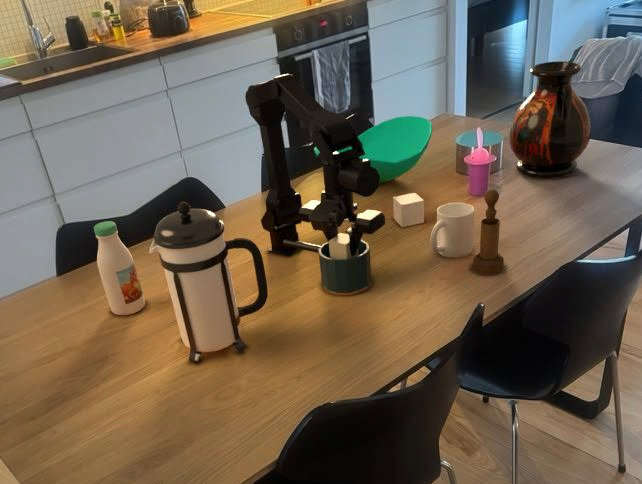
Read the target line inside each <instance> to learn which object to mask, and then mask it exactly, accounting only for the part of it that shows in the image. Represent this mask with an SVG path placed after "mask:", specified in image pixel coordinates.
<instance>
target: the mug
mask: <svg viewBox="0 0 642 484" xmlns="http://www.w3.org/2000/svg"><path fill="white" fill-rule="evenodd" d="M474 223H475V207H474V206H473V205H472V204H469V203H466V202H449V203H445V204H442V205H440V206H439V207H437V209H436V223H435V225H434V226H433V228H432V230H431V232H430V237H429V244H430V248H431V249H432V250H433V252H436V253H438V254H439V255H440V256H442V257H444V258H450V259H457V258H458V259H460V258H464V257H466V256H469V255H470V254H471V253H472V252H473V248H474V228H475V226H474V225H475V224H474Z"/></svg>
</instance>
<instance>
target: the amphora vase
mask: <svg viewBox="0 0 642 484" xmlns="http://www.w3.org/2000/svg"><path fill="white" fill-rule="evenodd" d="M581 71H582V66H581V65H580V64H579V63H577V62H572V61H547V62H541V63H538V64H535V65H533V66H532V67H531V68H530V70H529V73H530V74H531V76H534V77H536V86H535V88H534V90H533V91H532V93H531V94H530V95H529V96H528V97H527V98H526V99H525V100H524V101H523V102H522V103H521V104H520V106H519V107H518V108H517V110H516V112H515V113H514V115H513V118H512V120H511V126H510V129H509V137H508V138H509V146H510V149H511V151H512V153H513V154H514V156H515V157H516V158H517V159H518V161H517V163H516V170H517V171H518V172H519V174H522V175H523V176H525V177H529V178H534V179H541V180H547V179H550V180H551V179H558V178H563V177H566V176H568V175H570V174H572V173H574V172H575V171H576V169H577V167H578V163H577V161H576V160H577V159H578V158H579V157H580V156H581V155H582V154H583V153H584V151H585V150H586V149H587V148H588V145H589V143H590V139H591V134H592V130H591V129H592V126H591V117H590V113H589V111H588V110H589V109H588V108H587V105H586V104H585V102H584V101H583V100H582V98H581V97H580V96H579V95H578V94H577V92H576V91H575V89H574V88H573V86H572V81H573V77H574V76H575V75H577V74H579V73H580V72H581Z"/></svg>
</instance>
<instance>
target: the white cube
mask: <svg viewBox="0 0 642 484" xmlns="http://www.w3.org/2000/svg"><path fill="white" fill-rule="evenodd" d="M392 203H393V219H394V221H395V222H397V223H398V225H400V227H401V228H405V227H410V226H414V225H419V224H424V223H425V200H424V199H423V198H422V197H420V196H419V194H417V193H416V192H412V193H411V192H410V193H406V194H403V195H402V194H401V195H396V196H393V197H392Z"/></svg>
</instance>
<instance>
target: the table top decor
mask: <svg viewBox="0 0 642 484" xmlns="http://www.w3.org/2000/svg"><path fill="white" fill-rule="evenodd" d="M432 135H433V123H432V122H431V121H430V120H429V119H427V118H425V117H421V116H414V115H407V116H397V117H394V118H391V119H388V120H387V119H386V120H384V121H382V122H380V123H378V124H376V125H373V126H372V127H370V128H368V129H367V130H365V131H364V132H362V133H361V134H359V135H357V136H358V138H359V140H360V141H361V143H362V145H363V146H362V147H363V150H364V152H365V155H363V156H360V157H359V158H362V159H368V160H370V161H371V167H374V168H375V169H376V170H377V171H378V173H379V175H380V183H385V182H388V181H391V180H394V179H396V178H399V177H401V176H402V175H404V174H406V173H408V172H410V170H411V169H413V168H414V167H415V166H416V165H417V163H418V162H419V161H420V160H421V157H422V156H423V155H424V153H425V152H426V150H427V148H428V146H429V143H430V141H431V138H432ZM350 149H352V147H351V146H350V147H349V148H346V149H343V150H340V151H337V152H338V153H341V152H344V151H347V150H350ZM313 151H314V153H315V156H317V155H318V154H319V153H320V152H319V151H318V149H317V148H316V146H314V148H313Z"/></svg>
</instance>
